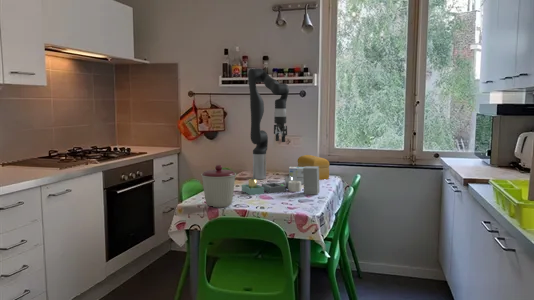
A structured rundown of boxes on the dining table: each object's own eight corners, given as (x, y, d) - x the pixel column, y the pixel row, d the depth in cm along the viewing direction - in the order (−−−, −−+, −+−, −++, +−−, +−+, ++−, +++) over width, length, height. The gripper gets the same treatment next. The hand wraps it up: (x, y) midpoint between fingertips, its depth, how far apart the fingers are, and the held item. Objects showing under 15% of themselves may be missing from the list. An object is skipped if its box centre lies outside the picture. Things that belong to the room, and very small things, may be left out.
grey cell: (283, 187, 264) (283, 175, 263) (290, 187, 266) (290, 175, 265) (287, 189, 260) (287, 177, 259) (294, 188, 262) (294, 176, 261)
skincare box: (319, 192, 251) (320, 166, 249) (317, 195, 244) (317, 168, 242) (305, 191, 253) (306, 165, 251) (302, 194, 247) (303, 167, 245)
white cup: (286, 189, 258) (286, 181, 258) (297, 188, 261) (297, 180, 261) (291, 192, 251) (291, 183, 251) (303, 191, 255) (303, 182, 254)
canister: (240, 202, 227) (240, 163, 224) (230, 210, 209) (230, 168, 207) (208, 200, 231) (208, 161, 228) (195, 208, 213) (195, 166, 211)
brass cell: (254, 190, 255) (254, 177, 254) (257, 191, 250) (257, 178, 249) (247, 190, 253) (247, 178, 252) (250, 192, 248) (250, 179, 247)
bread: (329, 179, 294) (330, 157, 292) (313, 180, 289) (313, 158, 287) (312, 173, 316) (312, 153, 315) (296, 174, 311) (297, 154, 310)
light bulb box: (305, 182, 281) (305, 166, 280) (305, 184, 275) (305, 168, 273) (289, 182, 282) (289, 166, 281) (288, 184, 276) (288, 167, 274)
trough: (241, 190, 256) (241, 184, 255) (254, 189, 259) (254, 183, 259) (250, 195, 244) (250, 189, 243) (263, 193, 247) (263, 187, 247)
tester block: (261, 189, 259) (261, 182, 259) (276, 188, 263) (276, 181, 263) (269, 193, 248) (269, 186, 248) (285, 191, 253) (285, 185, 252)
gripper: (291, 116, 262) (290, 142, 264) (280, 115, 275) (280, 140, 277) (280, 116, 259) (279, 142, 261) (270, 115, 272) (270, 140, 274)
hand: (280, 141), depth 269 cm, fingers open, 8 cm apart
